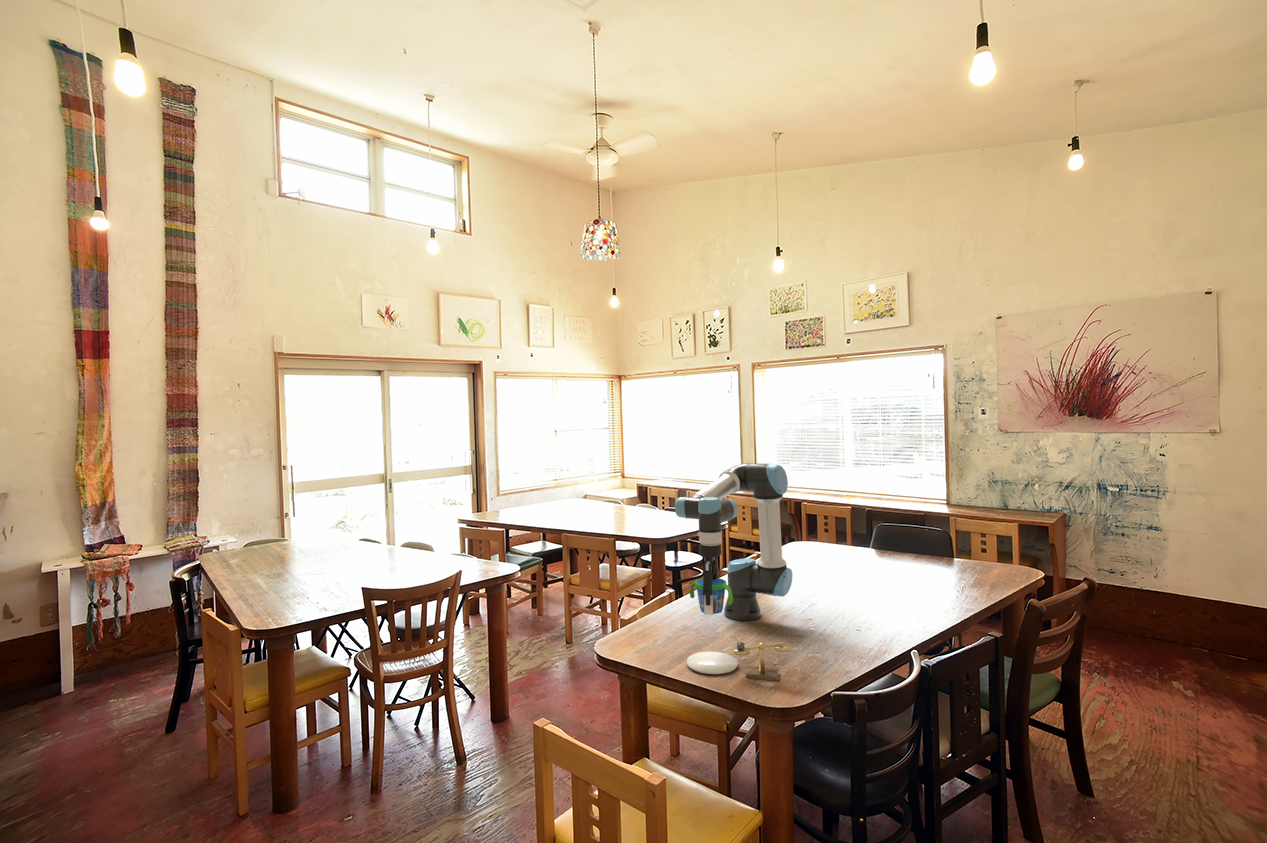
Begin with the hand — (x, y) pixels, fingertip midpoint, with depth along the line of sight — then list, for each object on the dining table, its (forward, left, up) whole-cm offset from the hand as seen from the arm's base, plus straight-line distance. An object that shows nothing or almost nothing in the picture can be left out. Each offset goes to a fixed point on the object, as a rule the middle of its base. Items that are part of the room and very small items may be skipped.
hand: (711, 609), depth 204 cm
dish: (0, 0, -19) cm, 19 cm away
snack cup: (0, 0, -1) cm, 1 cm away
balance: (+4, +17, -19) cm, 26 cm away
